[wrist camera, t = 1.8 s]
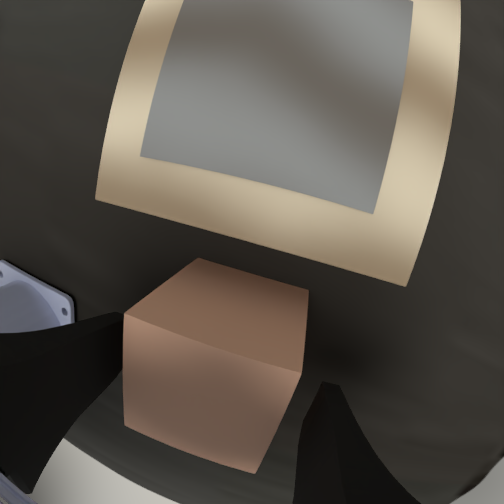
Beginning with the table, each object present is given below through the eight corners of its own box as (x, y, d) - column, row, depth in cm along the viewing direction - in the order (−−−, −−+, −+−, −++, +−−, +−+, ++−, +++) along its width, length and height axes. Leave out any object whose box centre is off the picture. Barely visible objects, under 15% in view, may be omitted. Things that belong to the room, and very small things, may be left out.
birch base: (390, 266, 12) (407, 289, 9) (128, 193, 14) (90, 200, 11) (441, 15, 9) (462, -13, 6) (191, -30, 10) (168, -59, 7)
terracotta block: (277, 379, 15) (255, 473, 9) (182, 348, 15) (124, 425, 9) (309, 289, 13) (301, 373, 7) (198, 257, 14) (124, 313, 8)
